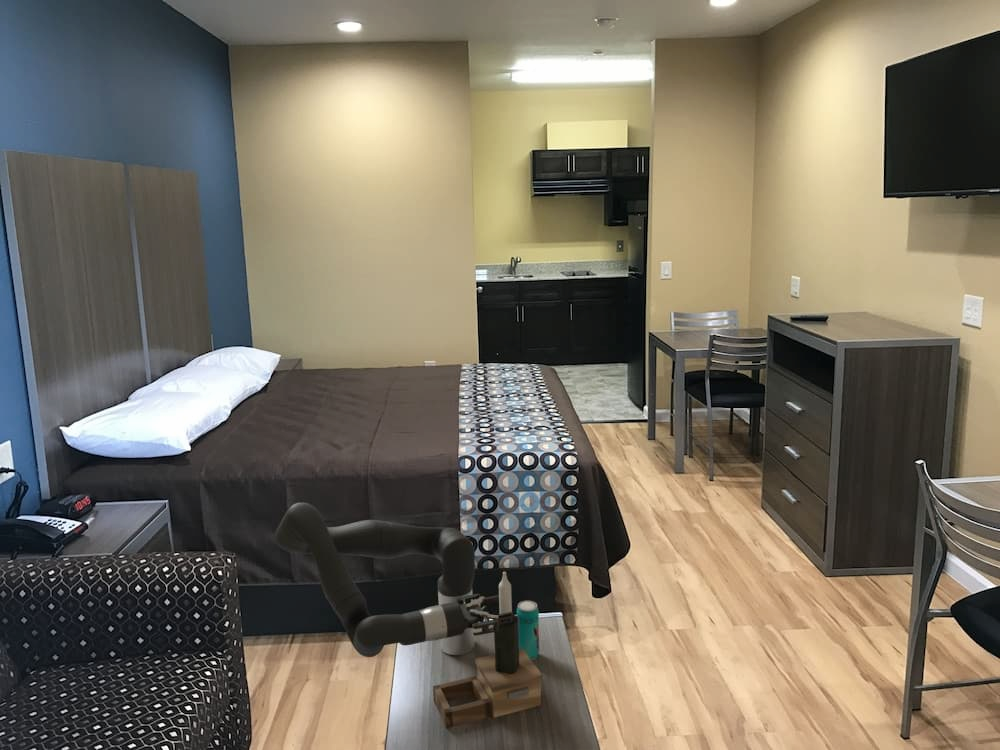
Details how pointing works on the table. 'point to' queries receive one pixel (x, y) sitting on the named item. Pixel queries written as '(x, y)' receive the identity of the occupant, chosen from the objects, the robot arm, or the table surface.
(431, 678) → the table surface
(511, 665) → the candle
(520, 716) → the table surface
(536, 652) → the beverage can
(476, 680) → the wooden box
